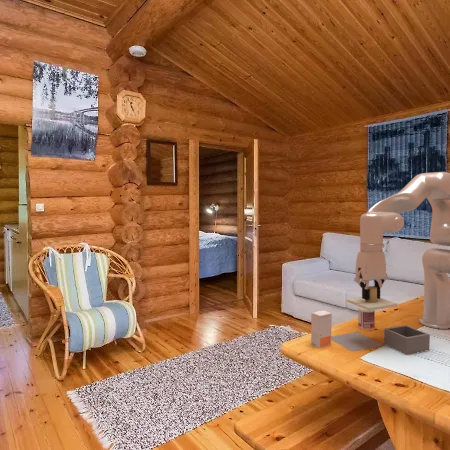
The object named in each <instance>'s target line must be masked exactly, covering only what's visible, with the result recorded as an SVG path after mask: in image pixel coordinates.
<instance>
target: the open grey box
mask: <svg viewBox="0 0 450 450" xmlns="http://www.w3.org/2000/svg"><path fill="white" fill-rule="evenodd" d="M383 332H384V334H383V337H384V338H383V345H384V346H385V345H386V346H388V347H390V348H391V349H394V350H395V351H398V352H400V353H402V354H404V355H406V356H408V355H409V356H410V355H414V354H418V353H417V352H419V353H422V352H421V351H424V352H426V351H425V350H429V351H430V342H431V341H430V338H431V337H430V336H431V335H430V334H429V333H427V332H424V331H422V330H420V329H417V328H415V327H413V326H412V327H411V326H409V325H407V324H403V325H398V326H391V327H386V328H384V330H383Z"/></svg>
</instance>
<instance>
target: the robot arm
mask: <svg viewBox="0 0 450 450" xmlns="http://www.w3.org/2000/svg"><path fill="white" fill-rule="evenodd" d="M425 199H427V201H428V202H429V204H430V206H431V210H432V214H431V223H430V230H429V241H430V242H431V244H433V245H437V246H443V247H450V172H446V171H438V172H437V171H434V172H424V173H419V174H417V175H415V176H414V177H413V178H412V179H411V180H410V181H409V182H408V183H407V184H406V185H405V186H404V187H403V188H402V189H401V190H399V192H397V193H394V194H393V195H390V196H388V197H386V198H384V199H382V200H380V201H378V202H376V203H375V204H374V205H373V206H372V207H371V208H369V209H368V211H367V212H366V213H363V214H361V215H360V219H359V222H360V223H359V228H360V229H359V233H360V234H359V235H360V236H359V238H360V239H359V242H360V243H359V245H360V247H359V248H360V249H359V251H358V252H357V255H356V261H355V275H354V276H355V278H354V280H353V281H354V283H356V284H358V285H359V287H360V288H361V297H362V298H363V299H365V300H370V290H369V289H368V286H370V281H372V282H373V286H374V287H377V299H380V298H381V288H382V287H383V284H385V282H386V281H387V280H388V278H389V276H388V274H387V266H386V265H387V263H386V256H385V252H384V248H385V244H384V233H385V234H396V233H398V232H400V231H402V229H403V228H404V225H405V219H404V218H403V216H402V214H403V213H408V212H410V211H414V210H415V209H416V208H418V207H419V206H420V205H421V204H422V203H423V202H424V201H425ZM421 261H422V262H421V263H422V267H423V273H424V274H423V275H424V276H423V277H424V283H423V285H424V288H423V292H424V293H423V295H424V296H423V316H422V317H420V318H419V320H418V321H419V324H421V325H423V326H425V327H428V328H432V329H438V328H439V330H449V329H448V328H450V277H449V276H448V275H449V274H450V249H448V248H447V249H446V248H438V247H437V248H435V247H433V248H429V249H426V250H425V251H424V252H423V253H422V257H421Z"/></svg>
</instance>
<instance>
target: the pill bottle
mask: <svg viewBox="0 0 450 450" xmlns="http://www.w3.org/2000/svg"><path fill="white" fill-rule="evenodd" d="M357 309H358V310H357V311H358V314H357V315H358V319H357V321H358V322H357V324H358V328H359V329H361V330H367V331H373V330H375V325H376V323H375V319H376V318H375V316H376V315H375V314H376V313H375V311H376V310H370V311H368V310H366V309H364V308H361V307H359V306H358V308H357Z"/></svg>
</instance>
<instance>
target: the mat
mask: <svg viewBox="0 0 450 450" xmlns="http://www.w3.org/2000/svg"><path fill="white" fill-rule="evenodd" d="M331 341H333V342H335V343H336V344H339V346H341V347H343V348H345V349H347V350H348V351H350V352H357V351H361V350H362V351H363V350H368V349H371V348H373V349H374V348H378V347H382V346H385V344H382V343H380V342H379V341H376V340H374V339H372V338H370V337H368V336H366V335H364V334H362V333H360V332H358V331H355V332H349V333H342V334H337V335H333V336H332V335H331Z"/></svg>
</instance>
